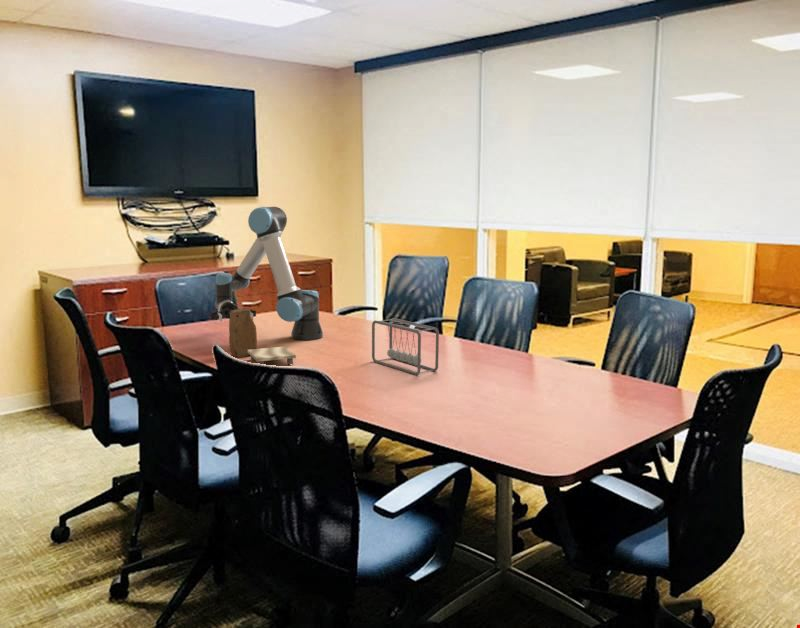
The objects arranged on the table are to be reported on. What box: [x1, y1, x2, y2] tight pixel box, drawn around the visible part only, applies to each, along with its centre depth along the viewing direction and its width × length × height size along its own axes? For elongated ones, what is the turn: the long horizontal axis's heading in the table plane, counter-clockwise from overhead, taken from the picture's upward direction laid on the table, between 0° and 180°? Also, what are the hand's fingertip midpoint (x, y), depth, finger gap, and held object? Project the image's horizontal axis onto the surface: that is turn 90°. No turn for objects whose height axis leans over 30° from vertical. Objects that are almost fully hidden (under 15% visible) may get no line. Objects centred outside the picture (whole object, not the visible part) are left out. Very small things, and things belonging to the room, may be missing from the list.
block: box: [228, 308, 258, 358], centre depth 293 cm, size 11×8×20 cm
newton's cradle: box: [371, 317, 440, 376], centre depth 277 cm, size 30×10×18 cm, turn 40°
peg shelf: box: [248, 346, 297, 365], centre depth 283 cm, size 16×17×4 cm
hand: (236, 317), depth 301 cm, fingers open, 13 cm apart
